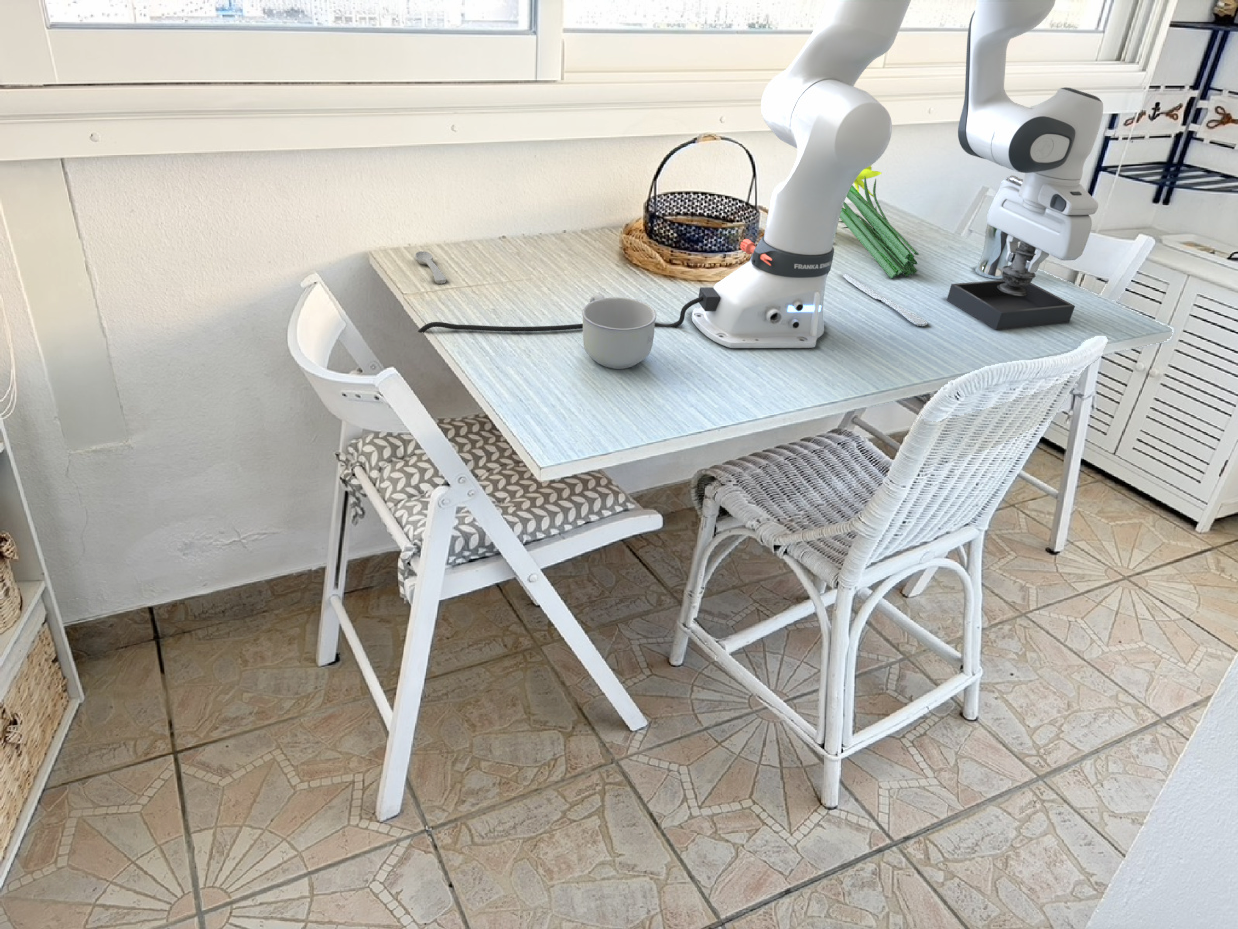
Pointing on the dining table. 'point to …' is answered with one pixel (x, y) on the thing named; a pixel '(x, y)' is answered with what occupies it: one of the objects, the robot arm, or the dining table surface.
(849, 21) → the robot arm
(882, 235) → the daffodil flowers
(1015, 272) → the salt shaker
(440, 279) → the spoon
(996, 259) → the beer glass
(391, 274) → the dining table surface
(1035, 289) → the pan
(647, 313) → the teacup
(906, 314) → the butter knife
